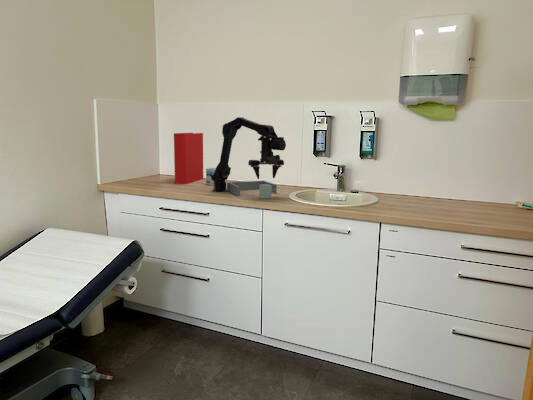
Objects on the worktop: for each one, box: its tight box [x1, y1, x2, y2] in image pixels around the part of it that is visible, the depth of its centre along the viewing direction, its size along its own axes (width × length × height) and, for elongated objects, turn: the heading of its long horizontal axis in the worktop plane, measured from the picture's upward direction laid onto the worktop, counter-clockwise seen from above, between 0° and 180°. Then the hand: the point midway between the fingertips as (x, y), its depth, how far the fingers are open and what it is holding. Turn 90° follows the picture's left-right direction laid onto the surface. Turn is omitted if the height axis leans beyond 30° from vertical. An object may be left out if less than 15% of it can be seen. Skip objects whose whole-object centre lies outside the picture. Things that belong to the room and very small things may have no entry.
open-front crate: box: [226, 180, 278, 197], centre depth 228 cm, size 24×17×5 cm
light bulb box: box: [205, 166, 217, 187], centre depth 251 cm, size 11×7×11 cm, turn 143°
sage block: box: [258, 184, 273, 200], centre depth 212 cm, size 5×5×7 cm
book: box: [173, 132, 204, 185], centre depth 261 cm, size 27×8×32 cm, turn 164°
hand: (266, 178), depth 210 cm, fingers open, 9 cm apart
